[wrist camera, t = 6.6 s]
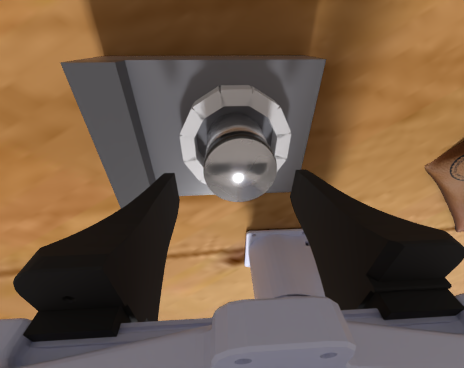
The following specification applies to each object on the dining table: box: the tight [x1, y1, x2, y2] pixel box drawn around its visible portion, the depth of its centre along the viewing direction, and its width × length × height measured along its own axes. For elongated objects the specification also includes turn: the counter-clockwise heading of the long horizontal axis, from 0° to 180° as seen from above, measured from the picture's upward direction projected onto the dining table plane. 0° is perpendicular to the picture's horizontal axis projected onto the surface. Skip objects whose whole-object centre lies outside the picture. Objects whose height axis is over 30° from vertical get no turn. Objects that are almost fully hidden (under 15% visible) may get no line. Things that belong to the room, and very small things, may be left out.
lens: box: [203, 113, 277, 202], centre depth 14 cm, size 4×4×5 cm
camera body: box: [61, 55, 326, 208], centre depth 17 cm, size 16×11×6 cm
